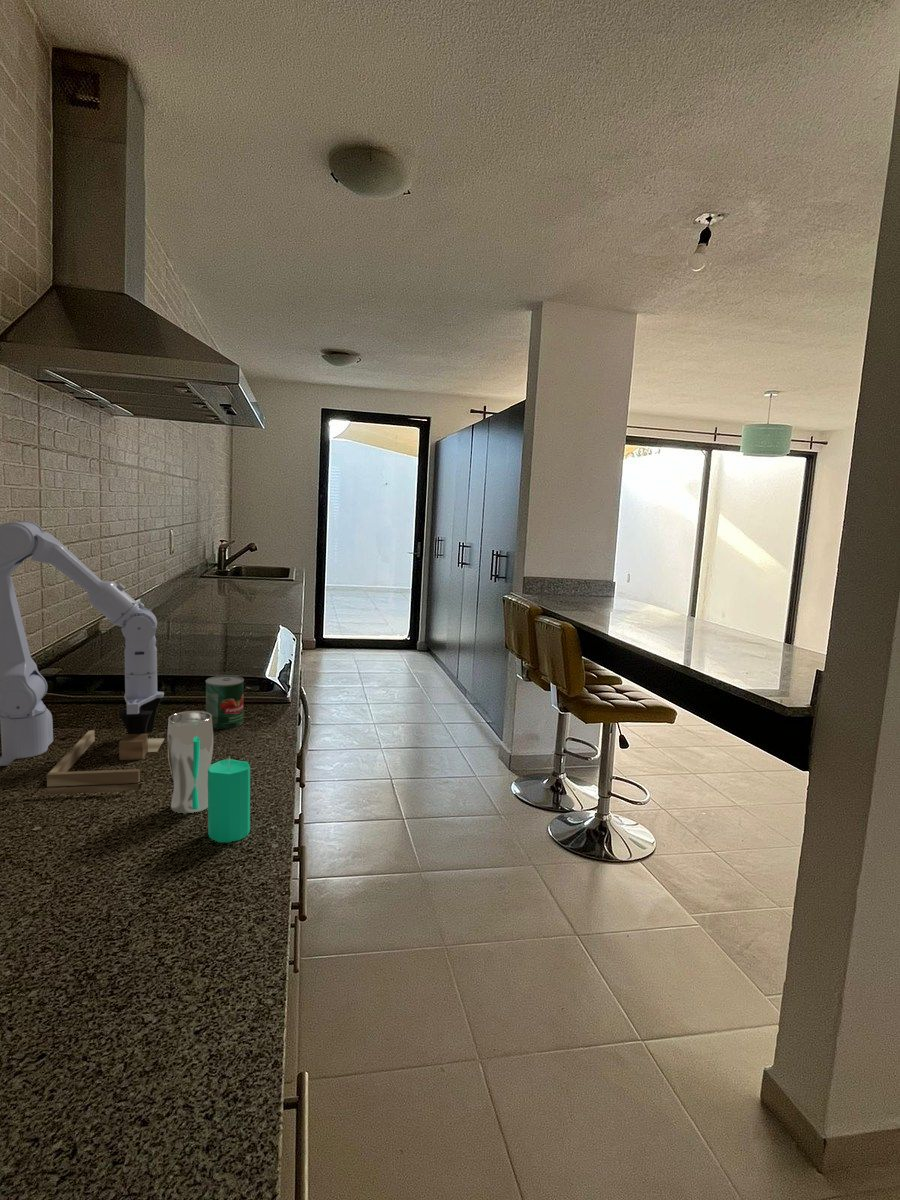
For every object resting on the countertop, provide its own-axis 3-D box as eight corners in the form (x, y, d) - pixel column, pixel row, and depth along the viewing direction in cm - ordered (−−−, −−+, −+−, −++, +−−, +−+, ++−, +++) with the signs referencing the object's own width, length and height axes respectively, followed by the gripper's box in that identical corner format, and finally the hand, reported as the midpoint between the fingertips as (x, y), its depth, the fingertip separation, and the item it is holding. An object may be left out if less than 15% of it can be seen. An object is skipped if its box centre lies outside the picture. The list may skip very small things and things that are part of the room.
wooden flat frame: (89, 747, 130) (89, 730, 130) (165, 744, 133) (164, 728, 133) (47, 794, 109) (46, 774, 108) (138, 790, 112) (138, 771, 112)
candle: (237, 845, 96) (237, 766, 94) (199, 839, 97) (199, 761, 95) (257, 826, 101) (257, 751, 100) (221, 821, 103) (221, 747, 101)
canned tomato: (236, 735, 140) (236, 685, 139) (199, 733, 140) (199, 683, 139) (248, 723, 148) (248, 676, 147) (213, 722, 148) (213, 674, 147)
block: (125, 751, 125) (124, 734, 124) (147, 751, 126) (147, 733, 125) (119, 760, 121) (119, 742, 121) (142, 759, 122) (142, 741, 121)
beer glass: (222, 802, 109) (222, 714, 107) (190, 819, 103) (189, 726, 101) (191, 793, 112) (190, 707, 110) (158, 809, 106) (156, 718, 104)
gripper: (155, 680, 122) (156, 751, 124) (170, 662, 136) (171, 726, 138) (113, 681, 120) (115, 752, 122) (133, 662, 134) (134, 727, 136)
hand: (142, 738), depth 130 cm, fingers open, 7 cm apart
